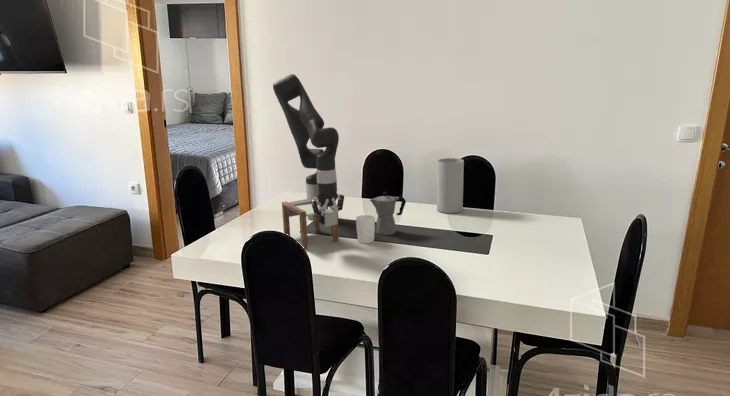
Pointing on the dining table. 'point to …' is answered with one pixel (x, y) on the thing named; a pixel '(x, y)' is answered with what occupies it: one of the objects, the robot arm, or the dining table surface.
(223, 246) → the dining table surface
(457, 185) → the cylinder vase
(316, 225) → the frame
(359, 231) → the white cup
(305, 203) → the trapdoor
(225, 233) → the dining table surface
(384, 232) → the coffeepot
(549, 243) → the dining table surface
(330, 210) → the gray cube
